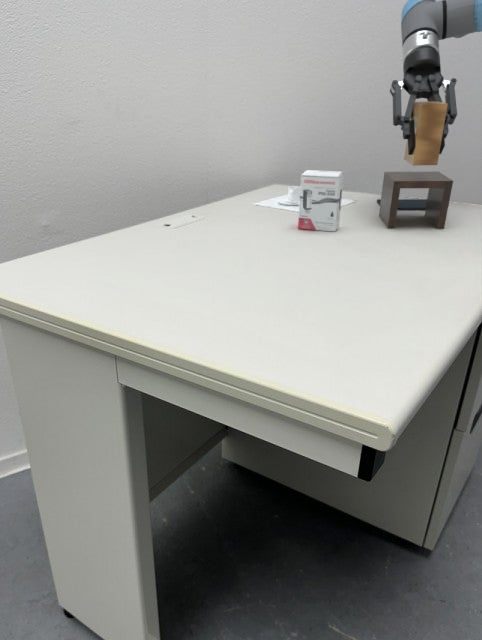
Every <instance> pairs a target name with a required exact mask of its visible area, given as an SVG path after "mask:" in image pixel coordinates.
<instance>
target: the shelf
mask: <svg viewBox="0 0 482 640" xmlns="http://www.w3.org/2000/svg"><path fill="white" fill-rule="evenodd" d="M453 185H454V180H453V179H451V178H449V177H448V176H447V175H445V174H443V173H442V172H440V171H384V173H383V181H382V187H381V194H380V195H381V196H380V199H381V202H380V205H379V211H378V217H379V218H380V220H381V221H382V222H383V224H384V226H385V227H386V229H395V227H396V220H397V214H398V210H397V208H398V201H399V199H400V194H401V189H428V192H427V198H426V199H427V203H426V209H425V210H424V217H425V218H426V219H427V220H428V221H429V222H430V224H432V225H433V226H434V227H435V228H436V229H438V230H441V229H445V226H446V221H447V215H448V210H449V205H450V202H451V201H450V200H451V195H452V190H453Z"/></svg>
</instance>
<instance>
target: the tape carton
mask: <svg viewBox="0 0 482 640" xmlns="http://www.w3.org/2000/svg"><path fill="white" fill-rule="evenodd" d="M442 102H443V101H442ZM442 102H436V101H428V100H426V101H415V102H413V111H412V114H411V118H410V120H414V127H415V145H416V146H415V149H414V151H413V154H412V155H408V139H406V144H405V148H404V149H405V151H404V159H403V160H404V161H406V162H407V163H408V164H410V165H411V166H415V167H416V166H438V164H439V157H440V154H439V152H440V146H441V140H442V134H443V129H444V123H445V117H446V111H447V105H448V104H447V103H446V102H443V103H442Z"/></svg>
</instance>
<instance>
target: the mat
mask: <svg viewBox="0 0 482 640" xmlns="http://www.w3.org/2000/svg"><path fill="white" fill-rule="evenodd" d="M380 202H381V198H379V199H376V203H377V204H378V205H379V206H380ZM426 203H427V198H425V199H424V198H422V199H421V198H420V199H419V198H418V199H417V198H416V199H415V198H411V199H410V198H409V199H408V198H407V199H406V198H399V201H398V208H397V211H425V209H426Z"/></svg>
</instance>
